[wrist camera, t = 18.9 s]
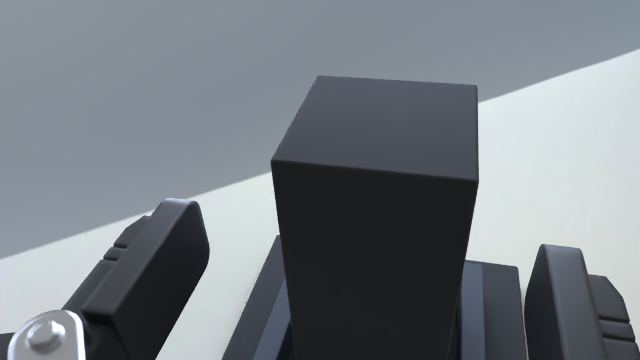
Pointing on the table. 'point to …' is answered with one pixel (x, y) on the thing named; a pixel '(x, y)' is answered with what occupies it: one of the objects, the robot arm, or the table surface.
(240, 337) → the base pad
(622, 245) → the table surface
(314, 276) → the tall dark pillar
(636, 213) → the table surface
